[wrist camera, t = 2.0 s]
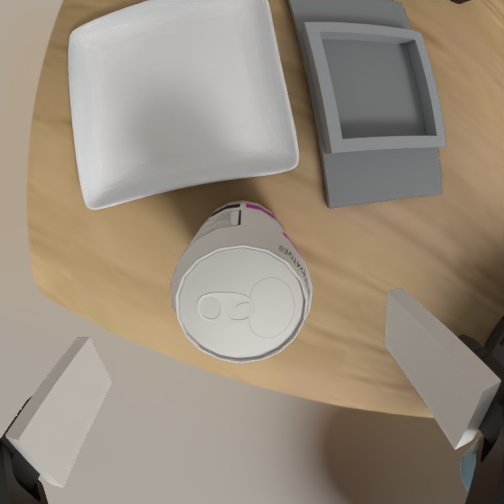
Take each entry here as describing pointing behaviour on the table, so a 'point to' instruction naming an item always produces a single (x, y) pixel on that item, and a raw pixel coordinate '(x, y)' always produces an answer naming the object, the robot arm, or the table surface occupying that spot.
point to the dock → (370, 100)
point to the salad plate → (177, 98)
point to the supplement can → (241, 285)
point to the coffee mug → (459, 1)
